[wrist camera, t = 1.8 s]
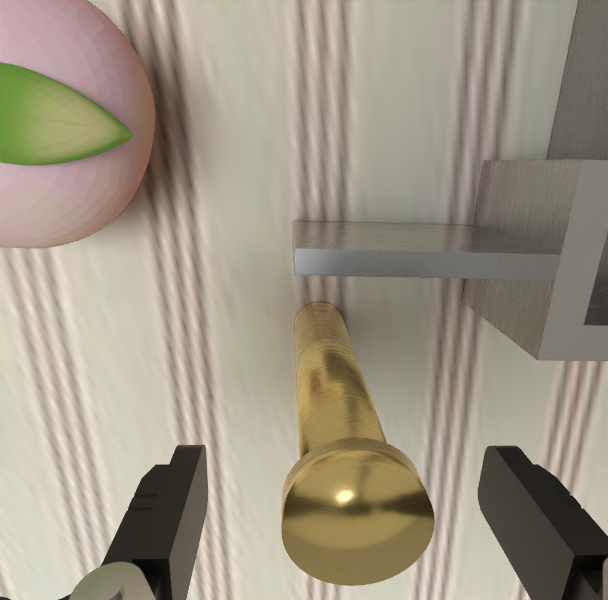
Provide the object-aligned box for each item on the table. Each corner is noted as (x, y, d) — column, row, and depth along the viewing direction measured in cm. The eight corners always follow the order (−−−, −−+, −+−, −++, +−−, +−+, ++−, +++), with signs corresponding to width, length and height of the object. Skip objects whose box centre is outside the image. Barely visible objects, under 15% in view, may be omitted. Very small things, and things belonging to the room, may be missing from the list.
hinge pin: (285, 291, 21) (282, 465, 9) (354, 293, 22) (444, 465, 9) (284, 355, 23) (280, 587, 10) (350, 356, 23) (424, 584, 10)
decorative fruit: (-6, 223, 20) (-273, 279, 10) (-44, 25, 17) (-446, -141, 8) (193, 229, 20) (111, 288, 11) (184, 36, 18) (66, -108, 8)
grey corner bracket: (299, -86, 17) (307, -251, 10) (684, -62, 17) (931, -202, 11) (291, 297, 22) (292, 357, 15) (590, 302, 22) (718, 362, 16)
